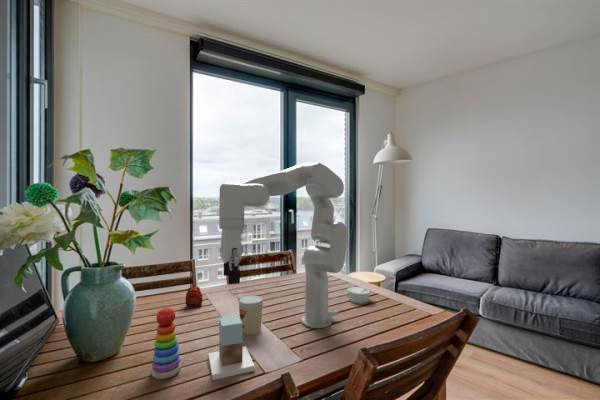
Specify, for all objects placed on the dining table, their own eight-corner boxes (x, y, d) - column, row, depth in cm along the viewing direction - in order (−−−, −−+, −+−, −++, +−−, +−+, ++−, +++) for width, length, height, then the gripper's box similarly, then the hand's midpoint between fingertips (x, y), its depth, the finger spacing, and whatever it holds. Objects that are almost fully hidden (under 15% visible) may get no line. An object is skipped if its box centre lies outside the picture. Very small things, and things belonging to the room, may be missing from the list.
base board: (245, 350, 96) (245, 346, 96) (254, 370, 85) (254, 365, 85) (208, 357, 91) (208, 353, 91) (212, 380, 80) (212, 374, 80)
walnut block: (238, 352, 92) (238, 333, 92) (242, 362, 87) (242, 342, 86) (219, 356, 90) (219, 337, 90) (222, 366, 84) (222, 346, 84)
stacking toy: (185, 363, 88) (185, 303, 88) (174, 380, 80) (175, 313, 80) (159, 364, 88) (159, 303, 87) (146, 380, 80) (146, 314, 80)
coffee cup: (236, 326, 114) (237, 296, 113) (259, 323, 117) (260, 294, 117) (240, 337, 105) (240, 305, 105) (265, 333, 108) (265, 302, 108)
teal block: (219, 337, 90) (219, 318, 90) (238, 333, 92) (238, 315, 92) (221, 346, 84) (221, 326, 84) (242, 342, 86) (242, 322, 86)
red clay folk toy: (184, 309, 130) (185, 276, 130) (185, 304, 137) (186, 272, 137) (202, 307, 132) (202, 275, 132) (202, 302, 139) (203, 271, 139)
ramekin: (371, 304, 139) (372, 293, 139) (348, 304, 139) (349, 293, 139) (366, 296, 150) (367, 286, 150) (345, 296, 150) (345, 286, 150)
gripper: (215, 221, 94) (215, 273, 94) (223, 226, 78) (222, 289, 78) (238, 221, 97) (238, 271, 97) (250, 226, 81) (249, 286, 81)
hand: (231, 279), depth 88 cm, fingers open, 9 cm apart
